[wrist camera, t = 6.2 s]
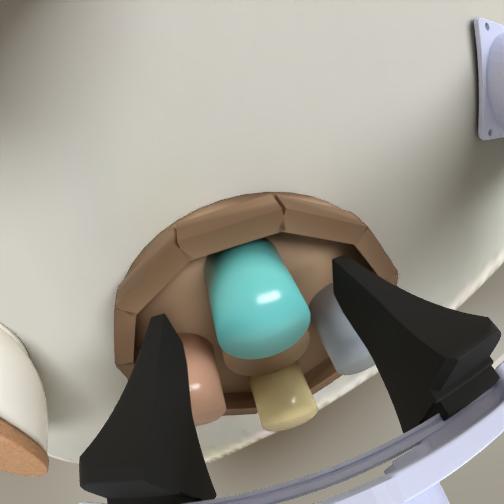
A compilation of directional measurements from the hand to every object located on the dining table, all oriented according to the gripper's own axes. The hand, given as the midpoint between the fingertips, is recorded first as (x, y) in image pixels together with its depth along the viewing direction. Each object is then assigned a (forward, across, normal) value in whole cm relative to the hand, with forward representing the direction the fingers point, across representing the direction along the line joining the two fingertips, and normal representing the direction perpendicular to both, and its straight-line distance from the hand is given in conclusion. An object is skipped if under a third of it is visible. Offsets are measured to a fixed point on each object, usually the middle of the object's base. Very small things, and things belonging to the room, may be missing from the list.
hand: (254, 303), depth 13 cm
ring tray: (+3, 0, +5) cm, 6 cm away
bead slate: (+2, -5, +5) cm, 7 cm away
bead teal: (+2, 0, 0) cm, 2 cm away
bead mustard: (+2, 0, +9) cm, 10 cm away
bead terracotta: (+2, +5, +5) cm, 7 cm away
